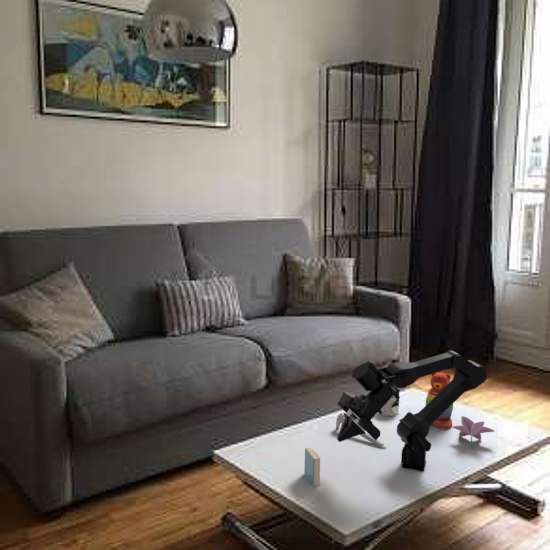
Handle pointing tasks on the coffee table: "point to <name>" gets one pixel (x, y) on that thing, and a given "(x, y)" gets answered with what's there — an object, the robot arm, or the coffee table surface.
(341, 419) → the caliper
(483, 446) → the coffee table surface
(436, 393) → the stacking bear
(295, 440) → the coffee table surface
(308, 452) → the tile
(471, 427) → the lily
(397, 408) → the mug
